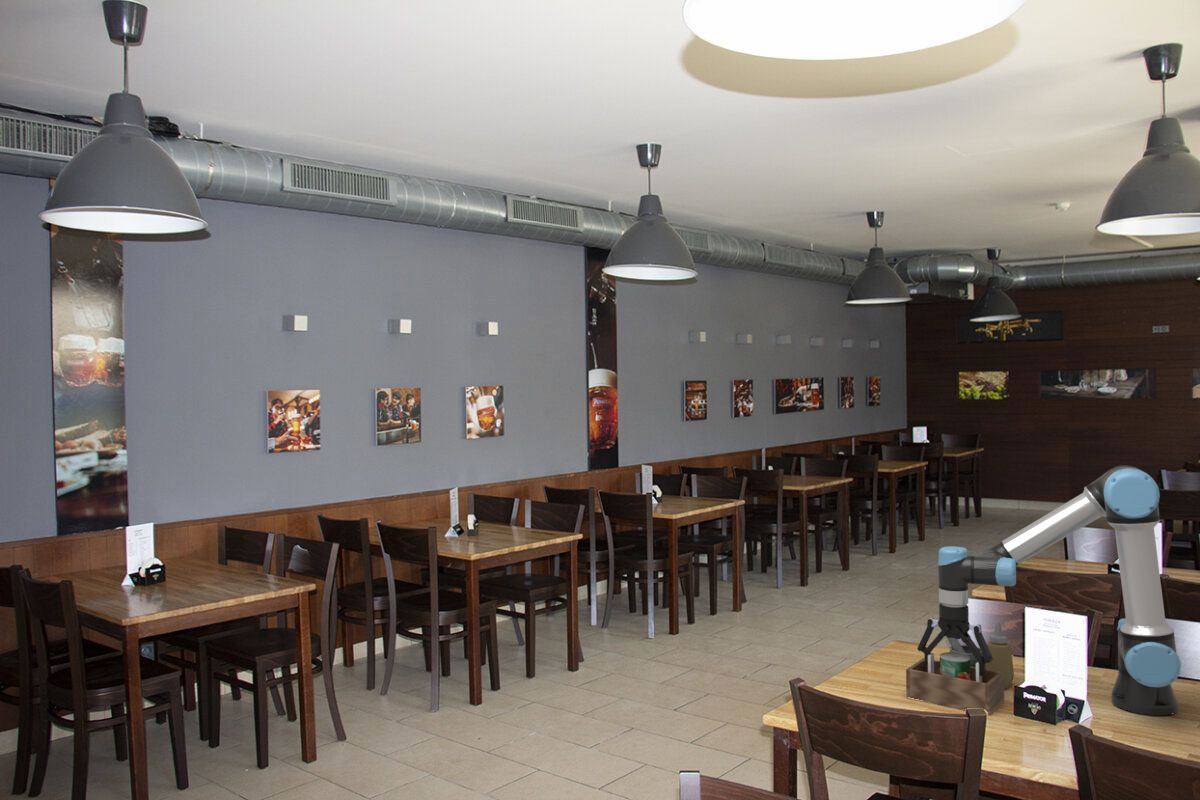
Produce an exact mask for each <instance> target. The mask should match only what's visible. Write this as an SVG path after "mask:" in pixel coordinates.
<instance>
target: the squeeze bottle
mask: <svg viewBox="0 0 1200 800" xmlns="http://www.w3.org/2000/svg"><path fill="white" fill-rule="evenodd" d="M994 626H995V627H994V630H993V633H992V634H989V641H987V642H986V644H987V646H988V648H989V651H990V653H991V655H992V657H993V660H992V661H991V662H990V663H986V669H987V670H992V671H998V672H1004V690H1005V689H1009V688H1011V687H1012V683H1013V680H1014V678H1015V671H1014V662H1013V654H1012V648H1011V647H1012V646H1011V645H1010V644H1009V643H1008V636H1007V635H1004V633H1003V628H1002V625H1001V623H1000V622H996V623H995V625H994Z"/></svg>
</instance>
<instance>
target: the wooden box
mask: <svg viewBox="0 0 1200 800" xmlns="http://www.w3.org/2000/svg"><path fill="white" fill-rule="evenodd" d="M905 675H906V676H905V679H906V680H905V683H906V684H905V685H906V687H905V688H906V696H905V697H906V698H907V697H910V698H914V699H919V700H923V701H927V702H930V703H929V704H931V703H933V704H932V705H936V704H937V706H940V707H941V706H943V707H947V708H951V709H955V710H961V711H965V709H967V708H983V709H985V710H986V711H987V712H988V715H987V716H989V717H990V716H991V715H992V714H993V713H994V712H996V710H997V709H998V708H1000V706H1002V705H1003V704H1004V703H1005V689H1004V672H998V671H992V670H987V669H986V673H985V675H984V676H982V683H981V682H976V667H970V680H965V679H960V678H955V677H949V676H944V675H940V660H935V659H934V674H933V673H928V666H927V665H925V657H923V658H921V659H920V660H918V661H916V662H915V663H914V664H912V665H911V666H909V667H908V668H906V670H905ZM927 702H926V703H927ZM963 709H964V710H963Z"/></svg>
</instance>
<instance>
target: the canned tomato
mask: <svg viewBox="0 0 1200 800" xmlns="http://www.w3.org/2000/svg"><path fill="white" fill-rule="evenodd" d="M939 661H940V675H944V676H949V677H955V678H960V679H965V680H970V657H969V656H968V655H965V654H962V653H955V652H950V651H949V652H942V653H940V654H939Z"/></svg>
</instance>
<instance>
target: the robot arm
mask: <svg viewBox="0 0 1200 800" xmlns="http://www.w3.org/2000/svg"><path fill="white" fill-rule="evenodd" d="M1083 489H1084V490H1083V492H1082V493H1080V494H1079V495H1077V496H1076V497H1074V498H1072V499H1070V500H1068V501H1066V503H1063V504H1062V505H1060V506H1058V507H1057V508H1055V509H1053V510H1052V511H1049V512H1048V513H1047V514H1045V515H1043V516H1041V517H1040V518H1038V519H1037V520H1035V521H1034V522H1031V523H1030V524H1029V525H1027V526H1025V527H1023V528H1022V529H1020V530H1018V531H1017V532H1015V533H1013V534H1012V535H1010V536H1008V537H1007V538H1005V539H1003V540H1002V541H1001V542H999V543H997V544H995V545H994V546H989V547H987V548H985V549H983V550H982V552H981V554H980V555H978V556H976V555H975V556H974V555H969V552H968V549H967V548H965V547H963V546H954V545H953V546H952V545H951V546H950V545H949V546H943V547H941V548H940V549H939V550H938V564H937V565H938V567H937V568H938V569H937V570H938V602H939V604H938V613H939V614H938V615H939V616H938V619H935V617H930V618H928V620H927V623H926V624H927V625H926V628H925V631H924V633H923V635H922V637H921V640H920V642H919V643H918V646H917V651H918V652H921V653H923V654H924V658H925V665H927V666H928V673H933V674H934V660H935V653H934V652H932V651H933V650H934V649H935V648H936V647H937V645H939V644H940V642H941V641H942V640H943V639H944V638H945V637H946V636H947V637H946V638H947V639H948V638H955V639H957V640H961V641H962V642H963V643H964V645H967V647H968V648H969V650H970V651H971V652H972V654H973V655H974V657H975V658H976V659H977V661H978V662H977V663H976V682H981V683H982V676H984V675H985V673H986V663H990V662H991V661H992V660H993V657H992V655H991V653H990V651H989V648H988V646H987V642H986V639H985V638H984V635H983V633H982V632H983V630H982V626H981V624H976V625H974V624H973V625H972V624H970V621H969V620H970V619H969V617H970V615H969V610H970V609H969V605H968V604H969V584H970V585H971V584H972V585H984V586H994V587H1014V586H1016V584H1017V569H1016V568H1017V566H1018V565H1020V564H1021V563H1023V562H1025V561H1027V560H1028V559H1031V558H1032V557H1033V556H1035V555H1037V554H1039V553H1041V552H1042V551H1044V550H1046V549H1047V548H1050V547H1051V546H1053V545H1055V544H1056V543H1058V542H1060V541H1061V540H1063V539H1065V538H1067V537H1068V536H1070V535H1072V534H1074V533H1075V532H1077V531H1079V530H1080V529H1082V528H1084V527H1086V526H1087V525H1089V524H1091V523H1093V522H1094V521H1097V520H1098V519H1100V518H1101V517H1106V523H1107V524H1108V525H1109V526H1110V527H1112V528H1113V529H1114V533H1115V541H1116V549H1117V559H1118V566H1119V575H1120V580H1121V581H1120V582H1121V590H1122V597H1123V598H1122V599H1123V605H1124V607H1123V608H1124V613H1125V614H1124V616H1125V617H1124V618H1120V619H1119V620H1118V621H1117V622H1118V623H1117V628H1116V630H1117V640H1118V641H1117V649H1118V651H1117V654H1118V657H1117V658H1118V659H1117V660H1118V663H1117V664H1118V672H1117V677H1116V680H1115V683H1114V685H1113V688H1112V690H1111V694H1110V695H1111V698H1110V699H1111V704H1112V705H1114V706H1116V707H1117V708H1119V709H1121V708H1122V709H1121V710H1123V709H1124V711H1126V710H1128V711H1127V712H1130V711H1131V712H1130V713H1134V712H1136V713H1135V714H1138V713H1142V714H1141V715H1144V714H1150V715H1149V716H1154V715H1166V716H1168V715H1167V714H1172V713H1175V712H1177V713H1178V711H1177V710H1178V709H1179V708H1178V705H1179V703H1178V700H1177V697H1176V694H1175V691H1174V689H1173V686H1172V683H1174V682H1175V681H1176V680H1177V679H1178V677H1179V675H1180V673H1181V667H1182V666H1181V665H1182V663H1181V660H1180V658H1179V655H1178V652H1177V647H1176V646H1177V645H1176V638H1175V631H1174V630H1175V629H1174V628H1173V626H1170V625H1169V624H1168V623H1167V622H1166V616H1165V615H1166V614H1165V608H1164V599H1163V598H1164V597H1163V592H1162V591H1163V590H1162V584H1161V574H1160V565H1159V560H1158V551H1157V543H1156V535H1155V534H1156V533H1155V527H1156V526H1157V525H1158V524H1159V523H1160V522H1161V518H1160V508H1159V503H1160V496H1161V494H1160V490H1159V486H1158V484H1157V483H1156V481H1155V480H1154V478H1153V477H1152V476H1151V475H1150V474H1148V473H1147V472H1145V471H1143V470H1141V469H1140V468H1138V467H1136V466H1133V465H1118V466H1115V467H1112V468H1111V469H1109V470H1108V471H1106V472H1105V473H1103V474H1102V475H1100V476H1099V477H1098V478H1096V479H1095V480H1094V481H1092V482H1090V483H1089V484H1088V485H1086V486H1084V488H1083ZM937 625H938V627H939V629H940V632H939V633H938V634H937V636H935V638H934V639H933V640H932V641H931V642H930V644H929V645H928V646H927V644H928V642H929V639H930V637H931V635H932V633H933V631H934V629H935V627H937ZM969 631H971V632H972V634H974V639H975V640H976V642H977V645H978V646H979V647H978V646H977V645H976V644H975V642H974V640H973V639H972V636H971V635H970V634H969V633H968V632H969ZM977 647H978V648H980V649H981V652H982V653H981V652H980V650H979V649H978V648H977ZM982 654H983V655H982ZM1175 714H1176V713H1175ZM1172 715H1173V714H1172Z"/></svg>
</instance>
